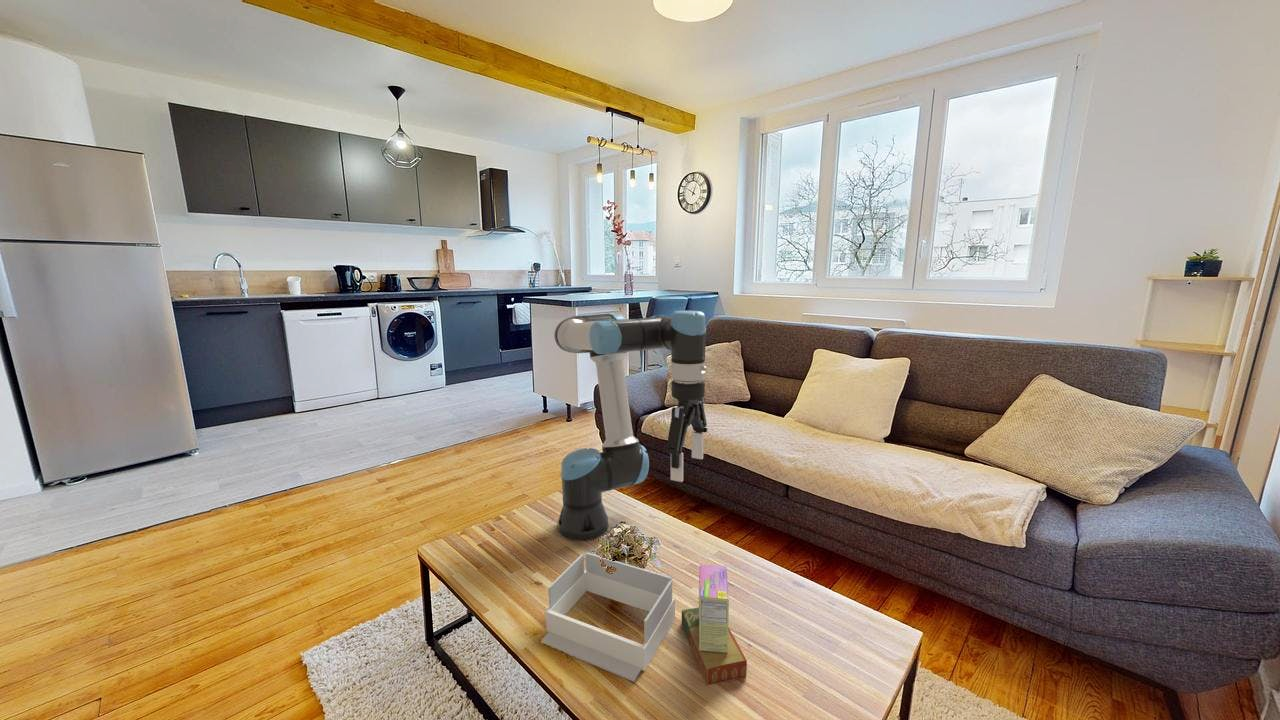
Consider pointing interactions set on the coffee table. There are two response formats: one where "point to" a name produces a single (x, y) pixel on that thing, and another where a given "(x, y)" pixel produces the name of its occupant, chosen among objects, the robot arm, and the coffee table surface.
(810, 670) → the coffee table surface
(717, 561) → the coffee table surface
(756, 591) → the coffee table surface
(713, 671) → the carton
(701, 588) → the box
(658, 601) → the open crate
